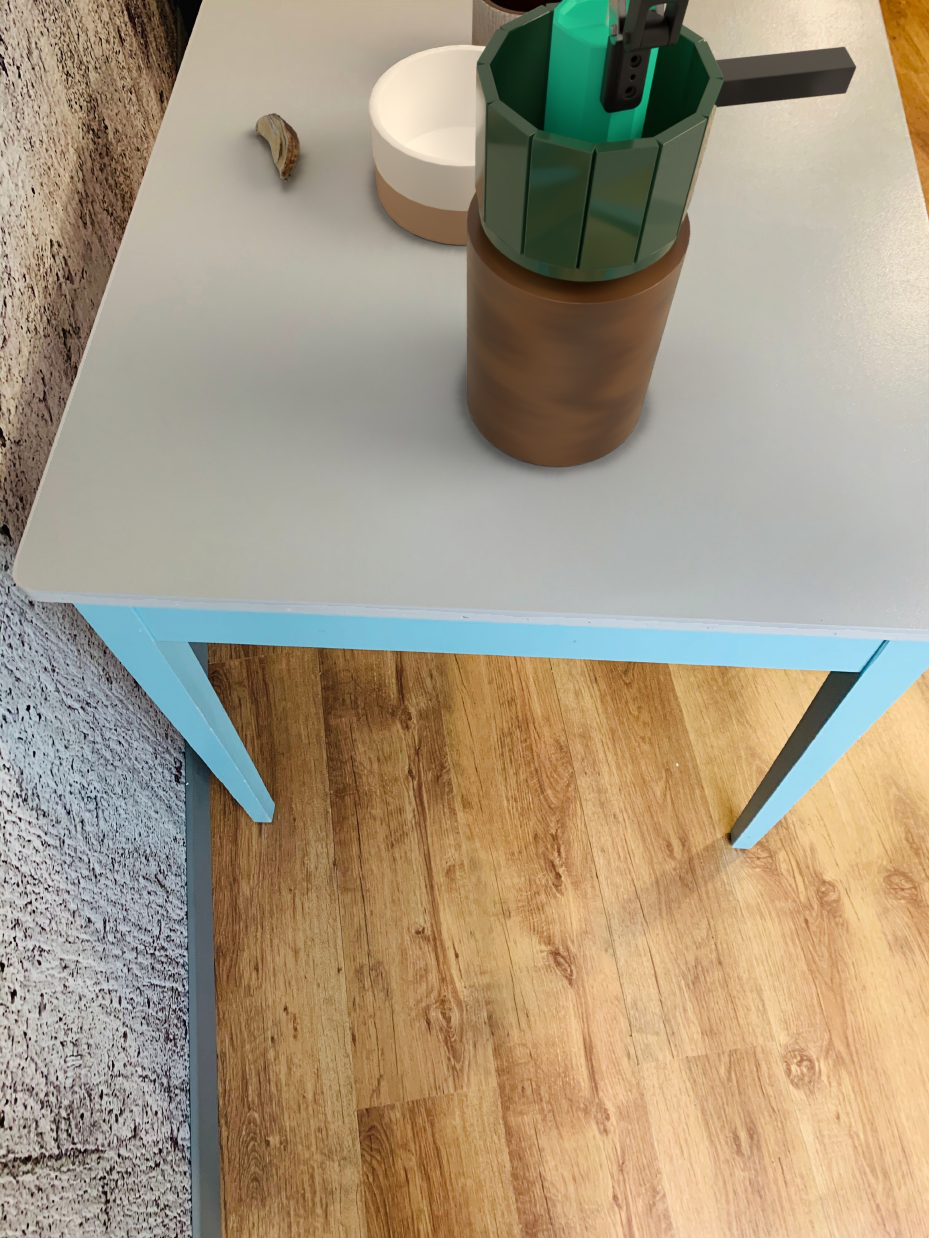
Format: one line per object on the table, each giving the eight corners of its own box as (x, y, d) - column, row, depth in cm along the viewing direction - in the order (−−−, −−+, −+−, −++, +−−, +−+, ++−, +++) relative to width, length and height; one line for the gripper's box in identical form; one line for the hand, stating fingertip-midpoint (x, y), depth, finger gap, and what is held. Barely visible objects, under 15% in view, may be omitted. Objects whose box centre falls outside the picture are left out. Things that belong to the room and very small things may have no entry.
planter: (460, 106, 90) (460, 7, 81) (483, 44, 94) (485, -55, 85) (562, 122, 88) (572, 24, 80) (580, 59, 93) (592, -41, 84)
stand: (609, 315, 77) (646, 131, 61) (666, 446, 71) (724, 279, 55) (448, 346, 75) (443, 167, 60) (492, 483, 69) (500, 323, 53)
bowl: (532, 259, 80) (539, 179, 72) (356, 230, 82) (345, 150, 74) (564, 141, 87) (573, 57, 80) (401, 117, 89) (395, 32, 81)
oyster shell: (277, 187, 91) (308, 188, 83) (243, 173, 88) (271, 173, 81) (290, 126, 89) (323, 122, 81) (256, 111, 87) (287, 105, 79)
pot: (497, 294, 53) (502, 163, 45) (462, 150, 59) (461, 11, 51) (836, 253, 54) (900, 119, 46) (769, 116, 60) (816, -24, 52)
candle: (580, 235, 53) (609, 33, 42) (518, 184, 55) (530, -21, 44) (650, 194, 55) (695, -12, 44) (587, 146, 57) (615, -62, 46)
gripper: (828, -301, 30) (709, 141, 46) (685, -442, 36) (622, -10, 52) (629, -277, 30) (575, 165, 45) (516, -424, 36) (502, 8, 51)
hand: (600, 69), depth 48 cm, fingers closed on candle, 6 cm apart
